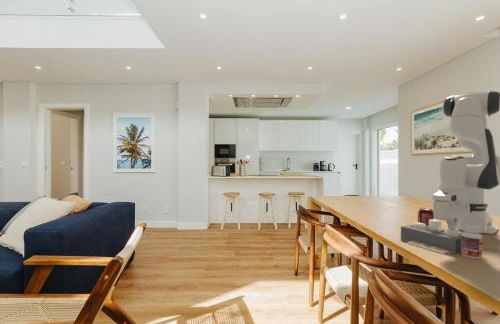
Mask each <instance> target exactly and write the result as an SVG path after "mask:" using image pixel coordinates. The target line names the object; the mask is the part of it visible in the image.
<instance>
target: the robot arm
mask: <svg viewBox="0 0 500 324" xmlns="http://www.w3.org/2000/svg"><path fill="white" fill-rule="evenodd" d="M442 112H443V114H444V115H445V116H447V117H450V118H451V119H450V126H449V127H450V128H449V129H450V132H451V134H452V135H453V136H454V137H456V138H457V143H458V145H459V146H460V147H462V148H464V149H467V150H469V151H471V152H472V154H455V155H449V156H448V155H447V156H444V157H442V158H441V161H440V163H439V167H440V168H439V179H440V184H439V190H438V191H436V192H435V193H433V194H432V200H433V204H432V211H433V216H434V220H440V221H445V222H446V224H447V228H448V229H451V230H453V229H458V230H459V231H462V232H464V230H463V225H474V226H478V227H480V228H481V232H480V233H479V234H489V235H493V234H494V233H496V232H497V231H499V227H497V226H493V217H492V216H491V215H490V214H489V213H488V212H487V208H488V207H489V204H488V203H485V190H489V191H490V190H492V189H495V188H496V187H498V186H499V185H500V156H498V155H497V154H496V148H495V142H494V137H493V134H492V132H491V130H490V129H489V128H487V126H488V125H487V124H488V122H487V115H488V117H491V116H492V115H495V114H497V113H498V112H500V92H499V91H494V90H493V91H492V90H491V91H480V92H479V91H476V92H471V93H465V94H464V93H463V94H458V95H450V96H448V97H446V98H445V99H444V100H443V104H442Z"/></svg>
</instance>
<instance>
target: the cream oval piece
mask: <svg viewBox="0 0 500 324" xmlns="http://www.w3.org/2000/svg"><path fill="white" fill-rule="evenodd" d="M413 224H414V227H415V228H419V229H425V224H424V223H418V221H417V222H413Z"/></svg>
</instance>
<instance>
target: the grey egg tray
mask: <svg viewBox="0 0 500 324" xmlns="http://www.w3.org/2000/svg"><path fill="white" fill-rule="evenodd" d="M461 233H462V232H459V237H453V236H449V235H445V228H441V233H436V232H432V231H429V226H427V225H425V229H419V228H415V227H414V223H413V224H407V225H401V226H400V239H402V240H406V241H408V242H410V241H416V242H420V243H423V244H427V245H430V246H434V247H437V248H441V249H444V250H448V251H449V253H450V254H454V255H456V254H461Z"/></svg>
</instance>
